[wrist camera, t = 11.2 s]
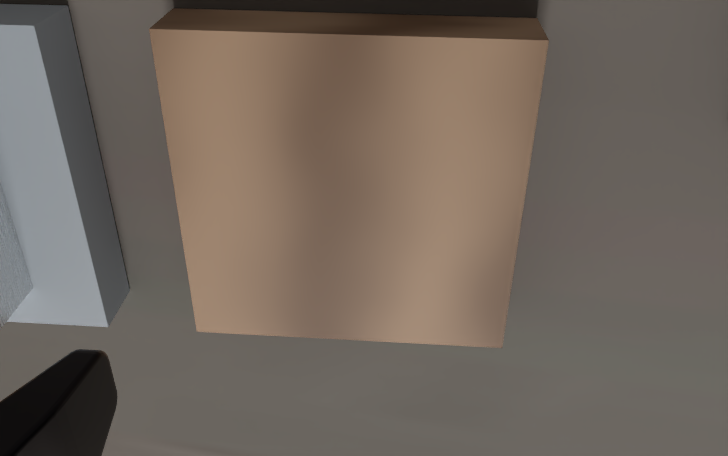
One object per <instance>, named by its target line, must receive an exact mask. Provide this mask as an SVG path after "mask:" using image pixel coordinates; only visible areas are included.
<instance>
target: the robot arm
mask: <svg viewBox="0 0 728 456" xmlns="http://www.w3.org/2000/svg"><path fill="white" fill-rule="evenodd" d="M116 405H117V390H116V386H115V382H114V378H113V374H112V370H111V366H110V362H109V359H108V356H107V354H106V353H105V352H103V351H100V350H83V349H79V350H75V351H73V352H71V353H70V354H68V355H67V356H65V357H64V358H62V359H61V360H59V361H58V362H57V363H55V364H54V365H52V366H51V367H49V368H48V369H47V370H45V371H44V372H42V373H41V374H39V375H38V376H37V377H35V378H34V379H32V380H31V381H29V382H28V383H26V384H25V385H24V386H22V387H21V388H19V389H18V390H16V391H15V392H14V393H12V394H11V395H9V396H8V397H6V398H5V399H3V400H2V401H1V402H0V456H101V455H102V452H103V449H104V446H105V442H106V439H107V436H108V432H109V429H110V426H111V423H112V419H113V416H114V413H115V409H116Z"/></svg>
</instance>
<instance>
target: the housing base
mask: <svg viewBox="0 0 728 456" xmlns="http://www.w3.org/2000/svg"><path fill="white" fill-rule="evenodd" d="M32 289H33V284H32V281H31V278H30V275H29V271H28V268H27V265H26V262H25V258H24V255H23V252H22V249H21V245H20V242H19V239H18V236H17V232H16V229H15V226H14V223H13V219H12V216H11V213H10V210H9V207H8V203H7V200H6V197H5V194H4V190H3V187H2V184H1V181H0V329H1V328H2V327H3V325H4V324H5V323H6V322H7V320H8V319H9V318H10V317H11V315H12V314H13V313H14V312H15V310H16V309H17V308H18V306H19V305H20V304H21V303H22V301H23V300H24V299H25V298H26V296H27V295H28V294H29V293H30V291H31V290H32Z"/></svg>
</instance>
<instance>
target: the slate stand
mask: <svg viewBox="0 0 728 456" xmlns="http://www.w3.org/2000/svg"><path fill="white" fill-rule="evenodd" d="M0 181H1V184H2V187H3V190H4V194H5V197H6V200H7V203H8V207H9V210H10V213H11V216H12V219H13V223H14V226H15V229H16V232H17V236H18V239H19V242H20V245H21V249H22V252H23V255H24V258H25V262H26V265H27V268H28V271H29V275H30V278H31V281H32V284H33V289H32V290H31V291H30V293H29V294H28V295H27V296H26V298H25V299H24V300H23V301H22V303H21V304H20V305H19V306H18V308H17V309H16V310H15V312H14V313H13V314H12V315H11V317H10V318H9V319H8V320H7V322H24V323H43V324H62V325H81V326H99V327H109V325H110V323H111V321H112V320H113V318H114V316H115V315H116V313H117V311H118V310H119V308H120V306H121V304H122V303H123V301H124V299H125V298H126V296H127V294H128V293H129V291H130V289H129V285H128V280H127V276H126V271H125V266H124V262H123V257H122V252H121V248H120V243H119V239H118V234H117V229H116V225H115V220H114V216H113V211H112V206H111V202H110V197H109V193H108V188H107V183H106V179H105V174H104V169H103V165H102V160H101V156H100V151H99V146H98V142H97V137H96V133H95V128H94V123H93V119H92V114H91V109H90V105H89V100H88V96H87V91H86V86H85V82H84V77H83V73H82V68H81V63H80V59H79V54H78V49H77V45H76V40H75V36H74V31H73V26H72V22H71V17H70V13H69V8H68V6H66V5H29V4H0Z"/></svg>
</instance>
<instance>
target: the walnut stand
mask: <svg viewBox="0 0 728 456" xmlns="http://www.w3.org/2000/svg"><path fill="white" fill-rule="evenodd" d="M149 32H150V38H151V44H152V51H153V57H154V63H155V70H156V76H157V82H158V88H159V95H160V101H161V107H162V114H163V120H164V126H165V133H166V139H167V145H168V152H169V158H170V164H171V171H172V177H173V183H174V190H175V196H176V202H177V209H178V215H179V221H180V228H181V234H182V240H183V247H184V253H185V259H186V266H187V272H188V278H189V285H190V291H191V297H192V304H193V310H194V316H195V323H196V329H197V332H212V333H231V334H250V335H268V336H287V337H306V338H325V339H343V340H362V341H381V342H400V343H419V344H437V345H456V346H475V347H494V348H502V345H503V339H504V332H505V325H506V319H507V312H508V306H509V299H510V293H511V286H512V279H513V273H514V266H515V260H516V253H517V247H518V240H519V233H520V227H521V220H522V214H523V207H524V201H525V194H526V187H527V181H528V174H529V168H530V161H531V155H532V148H533V141H534V135H535V128H536V122H537V115H538V108H539V102H540V95H541V89H542V82H543V76H544V69H545V62H546V56H547V49H548V43H549V40H548V38H547V36H546V34H545V32H544V30H543V28H542V26H541V24H540V23H539V21H538V19H537V18H511V17H474V16H437V15H400V14H363V13H326V12H288V11H251V10H214V9H177V8H173V9H172V10H171V11H170V12H168V13H167V14H166V15H165V16H164V17H163V18H161V19H160V20H159V21H158V22H157V23H155V24H154V25H153V26H152V27H151V28H150V29H149Z"/></svg>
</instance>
